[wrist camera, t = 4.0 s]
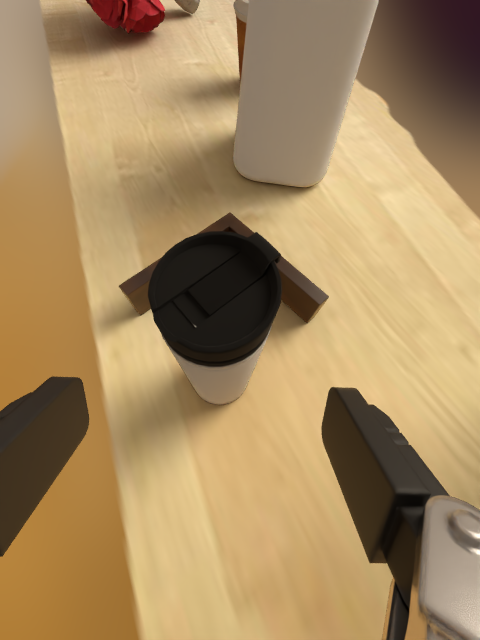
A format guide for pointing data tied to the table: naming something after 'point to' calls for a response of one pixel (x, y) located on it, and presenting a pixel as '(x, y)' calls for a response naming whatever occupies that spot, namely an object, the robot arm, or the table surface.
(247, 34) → the plastic bottle
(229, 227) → the corner bracket
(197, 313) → the travel mug
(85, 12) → the table surface
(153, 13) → the bouquet
